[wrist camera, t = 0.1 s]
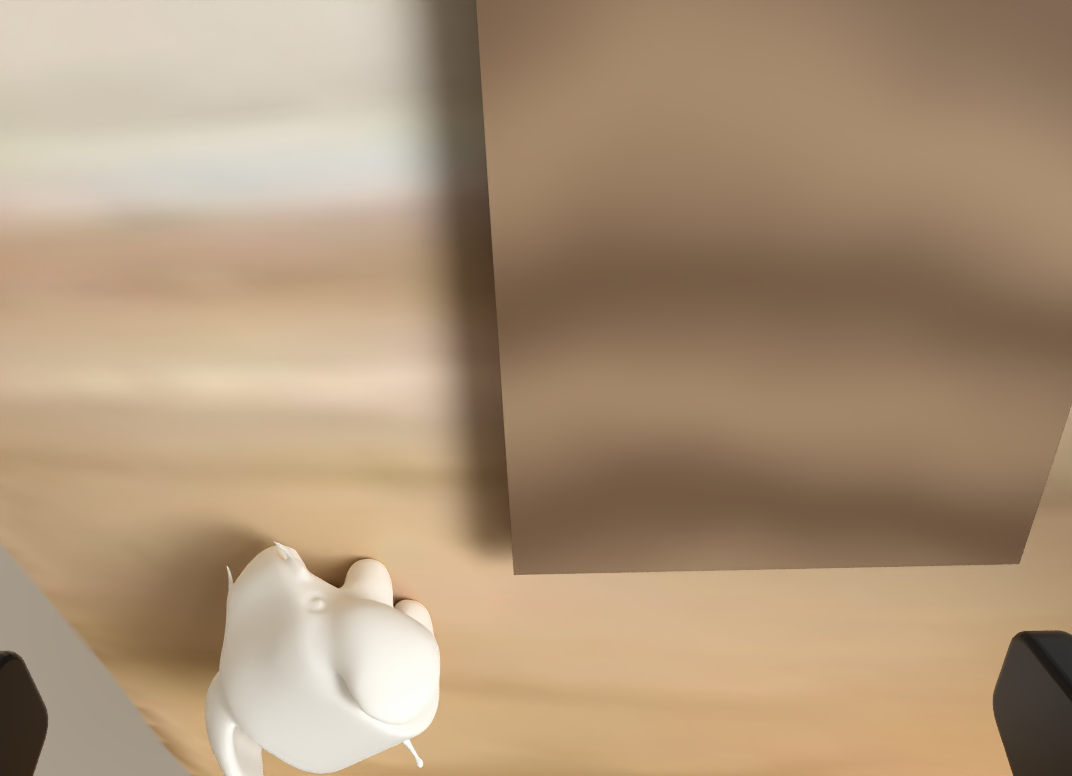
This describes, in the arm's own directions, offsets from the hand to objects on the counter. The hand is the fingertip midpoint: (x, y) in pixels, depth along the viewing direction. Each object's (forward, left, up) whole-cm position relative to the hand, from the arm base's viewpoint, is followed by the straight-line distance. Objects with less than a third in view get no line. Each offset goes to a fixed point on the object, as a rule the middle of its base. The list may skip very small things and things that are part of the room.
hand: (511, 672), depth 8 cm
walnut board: (-3, -6, -14) cm, 16 cm away
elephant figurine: (-13, +6, -15) cm, 21 cm away
